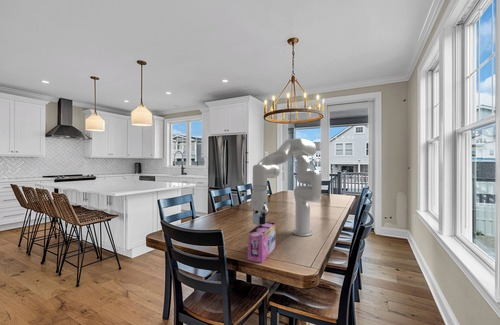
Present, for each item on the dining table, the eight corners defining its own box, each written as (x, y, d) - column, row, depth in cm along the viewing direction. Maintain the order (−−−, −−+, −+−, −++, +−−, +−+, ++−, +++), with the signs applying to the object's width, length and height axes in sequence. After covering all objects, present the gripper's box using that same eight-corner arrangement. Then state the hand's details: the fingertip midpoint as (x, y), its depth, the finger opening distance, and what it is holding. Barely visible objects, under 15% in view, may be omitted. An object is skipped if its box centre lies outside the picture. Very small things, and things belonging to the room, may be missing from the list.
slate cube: (252, 223, 126) (252, 213, 126) (260, 222, 129) (260, 212, 129) (257, 225, 122) (258, 215, 122) (266, 224, 125) (266, 214, 125)
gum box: (261, 264, 112) (261, 235, 112) (245, 261, 116) (246, 233, 115) (275, 246, 135) (276, 222, 134) (262, 244, 138) (262, 221, 137)
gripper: (245, 187, 131) (245, 220, 131) (262, 190, 116) (262, 227, 116) (257, 186, 135) (256, 218, 135) (275, 189, 120) (274, 225, 120)
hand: (259, 222), depth 125 cm, fingers closed on slate cube, 4 cm apart
